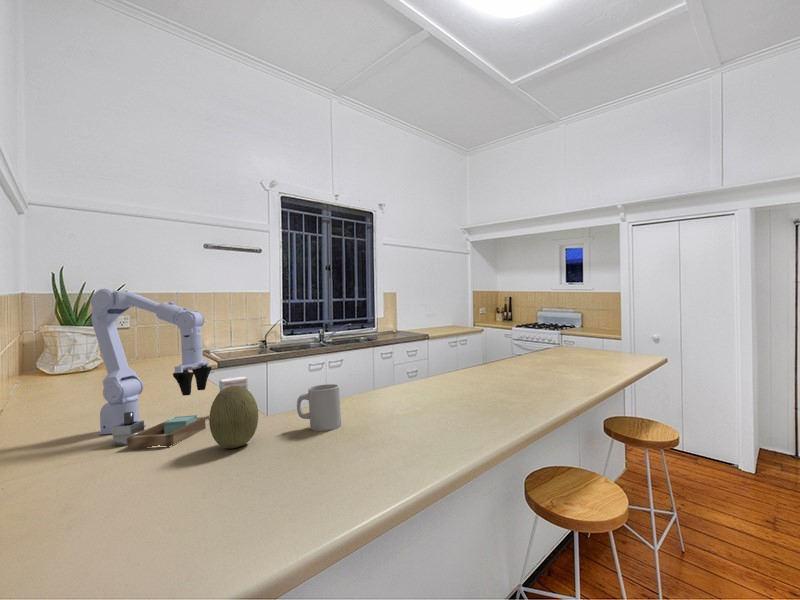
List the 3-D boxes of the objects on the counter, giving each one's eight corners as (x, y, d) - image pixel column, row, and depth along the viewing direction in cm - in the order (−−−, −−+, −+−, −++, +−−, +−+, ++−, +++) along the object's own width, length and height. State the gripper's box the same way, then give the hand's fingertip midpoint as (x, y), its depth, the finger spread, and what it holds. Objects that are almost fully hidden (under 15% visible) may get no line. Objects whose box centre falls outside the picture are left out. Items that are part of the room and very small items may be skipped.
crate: (163, 437, 105) (163, 422, 105) (176, 430, 111) (175, 416, 112) (186, 435, 106) (185, 420, 106) (197, 428, 112) (196, 415, 112)
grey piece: (106, 447, 99) (105, 428, 99) (126, 438, 106) (126, 420, 106) (131, 445, 99) (131, 426, 99) (150, 437, 106) (149, 419, 106)
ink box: (222, 416, 124) (220, 381, 125) (220, 413, 128) (218, 379, 129) (249, 411, 129) (247, 377, 130) (246, 408, 133) (244, 375, 134)
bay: (127, 449, 96) (127, 437, 96) (168, 430, 112) (168, 420, 112) (170, 447, 95) (170, 435, 95) (205, 428, 111) (205, 417, 111)
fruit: (212, 444, 95) (209, 385, 96) (259, 435, 100) (255, 379, 100) (208, 458, 85) (205, 392, 85) (261, 448, 89) (257, 385, 90)
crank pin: (122, 434, 102) (121, 413, 102) (128, 431, 104) (128, 411, 104) (129, 433, 101) (128, 413, 102) (136, 431, 104) (135, 411, 104)
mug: (343, 421, 108) (341, 383, 108) (339, 430, 99) (336, 388, 100) (302, 424, 108) (299, 386, 108) (294, 433, 99) (291, 392, 100)
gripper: (189, 350, 110) (192, 396, 109) (217, 346, 124) (219, 387, 124) (166, 352, 110) (169, 398, 109) (196, 347, 125) (198, 388, 124)
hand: (194, 392), depth 117 cm, fingers open, 7 cm apart
